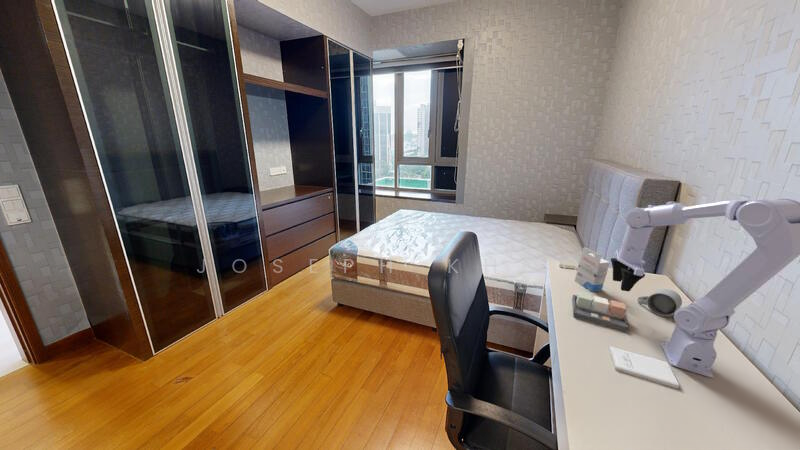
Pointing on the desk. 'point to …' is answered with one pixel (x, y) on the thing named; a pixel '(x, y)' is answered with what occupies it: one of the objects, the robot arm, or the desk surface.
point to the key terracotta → (617, 309)
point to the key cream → (600, 304)
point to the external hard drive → (643, 367)
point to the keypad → (599, 316)
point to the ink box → (591, 270)
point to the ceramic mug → (662, 302)
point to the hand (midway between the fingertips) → (620, 285)
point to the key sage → (584, 300)
